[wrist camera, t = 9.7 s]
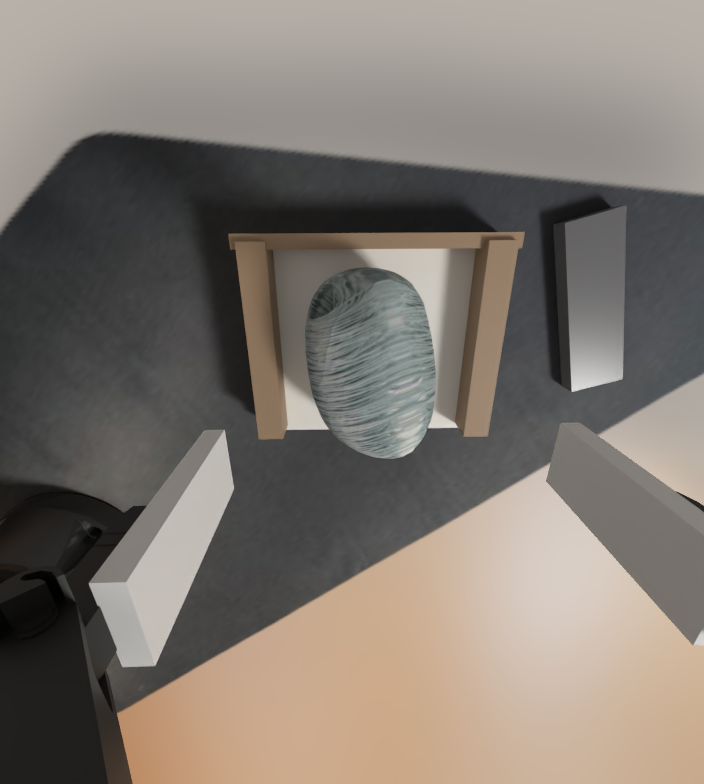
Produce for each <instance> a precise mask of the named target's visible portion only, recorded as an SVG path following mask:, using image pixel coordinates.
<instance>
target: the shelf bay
mask: <svg viewBox="0 0 704 784" xmlns="http://www.w3.org/2000/svg"><path fill="white" fill-rule="evenodd" d="M524 234H525V232H451V233H273V234H228V236H229V243H230V250H236V258H237V266H238V274H239V282H240V290H241V298H242V306H243V315H244V323H245V331H246V339H247V347H248V355H249V363H250V371H251V379H252V388H253V396H254V404H255V412H256V420H257V428H258V436H259V439H283V438H284V435H285V432H286V430H307V429H329V428H328V427H327V426H326V424H325V423H324V421H323V419H322V418H321V415H320V413H319V411H318V408H317V406H316V403H315V401H314V398H313V395H312V391H311V386H310V380H309V375H308V368H307V360H306V344H305V327H306V321H307V315H308V310H309V307H310V304H311V300H312V298H313V296H314V294H315V293H316V291H317V290H318V288H319V287H320V286H321V285H322V284H323V283H324V282H325V281H326V280H327V279H329V278H330V277H332V276H333V275H335V274H337V273H340V272H343V271H346V270H349V269H355V268H363V267H369V268H380V269H384V270H389V271H392V272H395V273H397V274H398V275H400V276H402V277H404V278H405V279H407V280H408V281H409V282H410V283H412V284H413V286H414V288H415V289H416V291H417V292H418V294H419V295H420V297H421V299H422V301H423V303H424V306H425V310H426V314H427V318H428V321H429V327H430V331H431V336H432V343H433V349H434V358H435V368H436V391H435V401H434V409H433V415H432V418H431V421H430V424H429V426H428V428H459V430H460V432H461V433H462V435H463V436H464V437H478V436H488V431H489V424H490V418H491V412H492V406H493V400H494V394H495V388H496V381H497V375H498V369H499V363H500V357H501V351H502V345H503V338H504V332H505V326H506V320H507V314H508V308H509V302H510V295H511V289H512V283H513V277H514V271H515V265H516V259H517V252H518V248H522V246H523V240H524Z"/></svg>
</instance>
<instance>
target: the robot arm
mask: <svg viewBox="0 0 704 784" xmlns="http://www.w3.org/2000/svg"><path fill="white" fill-rule="evenodd" d="M546 481H547V483H548V484H549V485H550V486H551V487H552V488H553V489H554V490H555V491H556V493H557V494H558V495H559V496H560V497H561V498H562V499H563V500H564V501H565V503H566V504H567V505H568V506H569V507H570V508H571V509H572V511H573V512H574V513H575V514H576V515H577V516H578V517H579V518H580V519H581V521H582V522H583V523H584V524H585V525H586V526H587V527H588V528H589V530H590V531H591V532H592V533H593V534H594V535H595V536H596V537H597V538H598V540H599V541H600V542H601V543H602V544H603V545H604V546H605V547H606V549H607V550H608V551H609V552H610V553H611V554H612V555H613V556H614V558H616V560H617V561H618V562H619V563H620V564H621V565H622V566H623V568H624V569H625V570H626V571H627V572H628V573H629V574H630V575H631V577H632V578H633V579H634V580H635V581H636V582H637V583H638V584H639V586H640V587H641V588H642V589H643V590H644V591H645V592H646V593H647V594H648V596H649V597H650V598H651V599H652V600H653V601H654V602H655V603H656V604H657V606H658V607H659V608H660V609H661V610H662V611H663V612H664V613H665V615H667V617H668V618H669V619H670V620H671V621H672V622H673V623H674V624H675V626H676V627H677V628H678V629H679V630H680V631H681V633H682V634H683V635H684V636H685V637H686V638H687V639H688V640H689V641H690V643H691V644H692V645H704V506H703V505H701V504H700V503H699V502H697V501H695V500H693V499H691V498H689V497H687V496H685V495H683V494H681V493H678V492H676V491H674V490H672V489H671V488H670V487H668V486H667V485H665V484H664V483H663V482H661V481H660V480H659V479H657V478H656V477H654V476H653V475H652V474H650V473H649V472H647V471H646V470H645V469H643V468H642V467H640V466H639V465H637V464H636V463H635V462H633V461H632V460H631V459H629V458H628V457H627V456H625V455H624V454H622V453H621V452H620V451H618V450H617V449H615V448H614V447H613V446H611V445H610V444H609V443H607V442H606V441H604V440H603V439H602V438H600V437H599V436H597V435H596V434H595V433H593V432H592V431H590V430H589V429H588V428H586V427H585V426H583V425H582V424H581V423H560V427H559V431H558V435H557V439H556V443H555V448H554V452H553V456H552V460H551V464H550V468H549V472H548V476H547V480H546ZM233 490H234V485H233V479H232V473H231V467H230V461H229V454H228V448H227V442H226V436H225V430H204V431H203V433H202V434H201V435H200V437H199V438H198V439H197V441H196V442H195V443H194V444H193V446H192V447H191V448H190V450H189V451H188V452H187V454H186V455H185V456H184V458H183V459H182V460H181V462H180V463H179V464H178V466H177V467H176V468H175V470H174V471H173V472H172V474H171V475H170V476H169V478H168V479H167V480H166V482H165V483H164V484H163V485H162V487H161V488H160V489H159V491H158V492H157V493H156V495H155V496H154V497H153V499H152V500H151V501H150V503H149V504H148V505H147V506H133V507H132V508H130V509H129V510H127V511H126V512H125V513H123V514H122V513H121V512H119V511H118V510H116V509H115V508H113V507H111V506H109V505H107V504H105V503H103V502H101V501H99V500H96V499H93V498H90V497H87V496H83V495H78V494H72V493H46V494H41V495H37V496H34V497H31V498H29V499H27V500H25V501H23V502H22V503H20V504H19V505H18V506H17V507H15V508H14V509H13V510H11V511H10V512H9V513H8V514H6V515H5V516H4V517H3V518H1V519H0V784H132V779H131V775H130V770H129V766H128V761H127V757H126V752H125V748H124V744H123V739H122V735H121V731H120V726H119V721H118V717H117V712H116V708H115V703H114V699H113V694H112V690H111V685H110V681H109V677H108V675H107V672H106V668H107V667H108V665H109V663H110V661H111V660H112V658H113V656H114V654H115V652H116V653H117V655H118V658H119V660H120V663H121V665H122V667H138V666H155V665H156V663H157V661H158V658H159V656H160V654H161V652H162V649H163V647H164V645H165V643H166V640H167V638H168V636H169V634H170V631H171V629H172V627H173V625H174V622H175V620H176V618H177V616H178V613H179V611H180V609H181V607H182V604H183V602H184V600H185V598H186V595H187V593H188V591H189V589H190V587H191V584H192V582H193V580H194V578H195V575H196V573H197V571H198V569H199V566H200V564H201V562H202V560H203V557H204V555H205V553H206V551H207V548H208V546H209V544H210V542H211V539H212V537H213V535H214V533H215V530H216V528H217V526H218V524H219V521H220V519H221V517H222V515H223V512H224V510H225V508H226V506H227V503H228V501H229V499H230V497H231V495H232V492H233Z"/></svg>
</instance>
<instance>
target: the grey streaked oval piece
mask: <svg viewBox="0 0 704 784" xmlns="http://www.w3.org/2000/svg"><path fill="white" fill-rule="evenodd" d="M305 344H306V360H307V368H308V375H309V380H310V386H311V391H312V395H313V398H314V401H315V403H316V406H317V408H318V411H319V413H320V415H321V418H322V419H323V421H324V423H325V424H326V426H327V427H328V428H329V430H330V431H331V432H332V433H333V434H334V435H335V436H336V437H337V438H338V439H339V440H340V441H342V442H343V443H344V444H346V445H348V446H349V447H351V448H353V449H354V450H356V451H358V452H361V453H363V454H366V455H369V456H373V457H377V458H389V459H394V458H398V457H403V456H405V455H407V454H408V453H410V452H412V451H413V450H414V449H415V447H416V446H417V445H418V444H419V443H420V442H421V440H422V439H423V437H424V435H425V433H426V431H427V428H428V426H429V424H430V421H431V418H432V415H433V409H434V401H435V391H436V368H435V358H434V349H433V343H432V336H431V331H430V327H429V321H428V318H427V314H426V310H425V306H424V303H423V301H422V299H421V297H420V295H419V294H418V292H417V291H416V289H415V288H414V286H413V284H412V283H410V282H409V281H408V280H407V279H405V278H404V277H402V276H400V275H398V274H397V273H395V272H392V271H389V270H384V269H380V268H369V267H363V268H355V269H349V270H346V271H343V272H340V273H337V274H335V275H333V276H332V277H330V278H329V279H327V280H326V281H325V282H324V283H323V284H322V285H321V286H320V287H319V288H318V290H317V291H316V293H315V294H314V296H313V298H312V300H311V304H310V307H309V310H308V315H307V321H306V327H305Z"/></svg>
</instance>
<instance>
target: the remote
mask: <svg viewBox="0 0 704 784" xmlns="http://www.w3.org/2000/svg"><path fill="white" fill-rule="evenodd" d="M553 231H554V250H555V269H556V289H557V308H558V327H559V346H560V365H561V384H562V386H563V387H565V388H566V389H568V390H569V391H571V392H573V391H577V390H581V389H585V388H589V387H593V386H597V385H601V384H605V383H609V382H613V381H617V380H621V379H623V341H624V295H625V248H626V205H624V206H618V207H611V208H608V209H604V210H601V211H598V212H594V213H591V214H587V215H584V216H581V217H577V218H574V219H570V220H567V221H564V222H560V223H557V224H553Z"/></svg>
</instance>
